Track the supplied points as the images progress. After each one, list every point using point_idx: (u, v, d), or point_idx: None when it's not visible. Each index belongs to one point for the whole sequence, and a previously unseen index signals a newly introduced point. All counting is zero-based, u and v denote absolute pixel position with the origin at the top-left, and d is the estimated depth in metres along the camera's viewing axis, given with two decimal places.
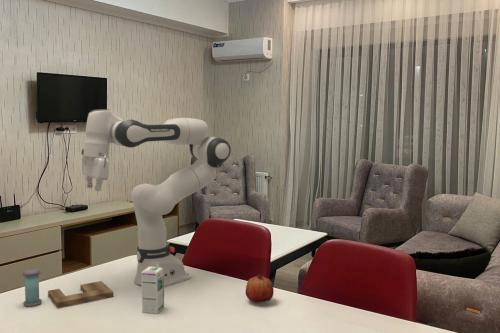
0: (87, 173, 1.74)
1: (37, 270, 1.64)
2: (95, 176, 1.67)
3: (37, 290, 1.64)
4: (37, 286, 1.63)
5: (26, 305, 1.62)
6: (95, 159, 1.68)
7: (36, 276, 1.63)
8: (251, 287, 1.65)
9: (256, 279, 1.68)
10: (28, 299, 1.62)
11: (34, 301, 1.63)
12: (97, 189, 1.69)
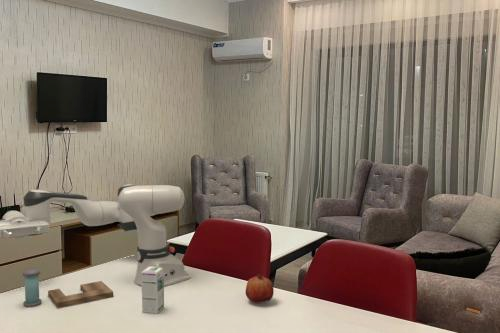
0: (13, 226, 1.76)
1: (37, 270, 1.64)
2: (40, 224, 1.82)
3: (37, 290, 1.64)
4: (37, 286, 1.63)
5: (26, 305, 1.62)
6: (32, 221, 1.86)
7: (36, 276, 1.63)
8: (251, 287, 1.65)
9: (256, 279, 1.68)
10: (28, 299, 1.62)
11: (34, 301, 1.63)
12: None
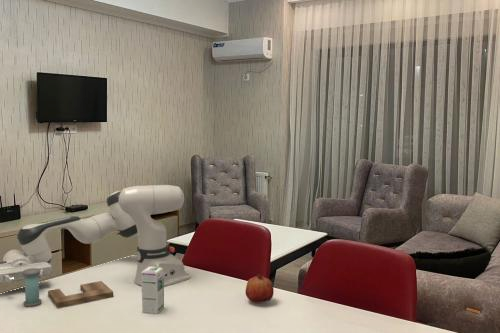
0: (14, 270, 1.73)
1: (37, 270, 1.64)
2: (42, 266, 1.79)
3: (37, 290, 1.64)
4: (37, 286, 1.63)
5: (26, 305, 1.62)
6: (34, 263, 1.83)
7: (36, 276, 1.63)
8: (251, 287, 1.65)
9: (256, 279, 1.68)
10: (28, 299, 1.62)
11: (34, 301, 1.63)
12: (41, 274, 1.74)
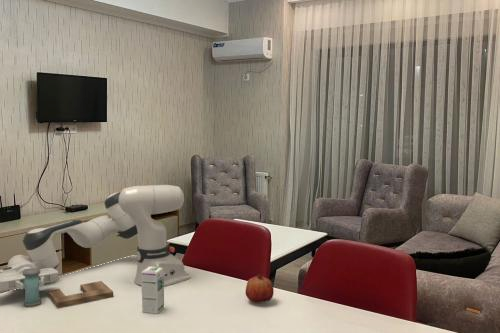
0: (20, 277, 1.66)
1: (37, 270, 1.64)
2: (49, 272, 1.71)
3: (37, 290, 1.64)
4: (37, 286, 1.63)
5: (26, 305, 1.62)
6: (40, 269, 1.75)
7: (36, 276, 1.63)
8: (251, 287, 1.65)
9: (256, 279, 1.68)
10: (28, 299, 1.62)
11: (34, 301, 1.63)
12: (43, 282, 1.66)
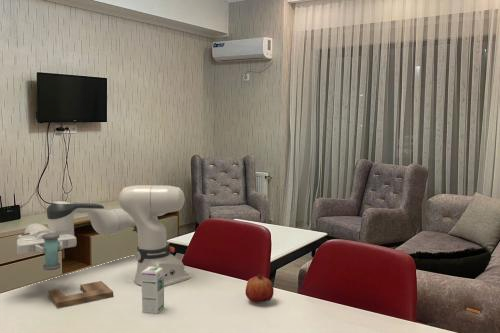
0: (39, 241, 1.69)
1: (56, 234, 1.67)
2: (67, 238, 1.74)
3: (56, 254, 1.67)
4: (56, 250, 1.67)
5: (46, 268, 1.65)
6: None
7: (55, 240, 1.66)
8: (251, 287, 1.65)
9: (256, 279, 1.68)
10: (48, 262, 1.65)
11: (54, 264, 1.66)
12: None
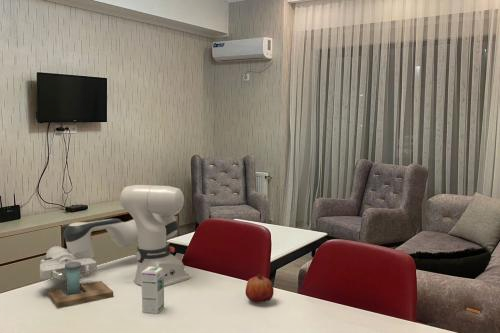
0: (61, 266, 1.74)
1: (78, 263, 1.72)
2: (87, 262, 1.79)
3: (78, 282, 1.72)
4: (78, 279, 1.72)
5: None
6: (78, 259, 1.83)
7: (77, 269, 1.71)
8: (251, 287, 1.65)
9: (256, 279, 1.68)
10: (70, 291, 1.70)
11: (75, 293, 1.71)
12: None
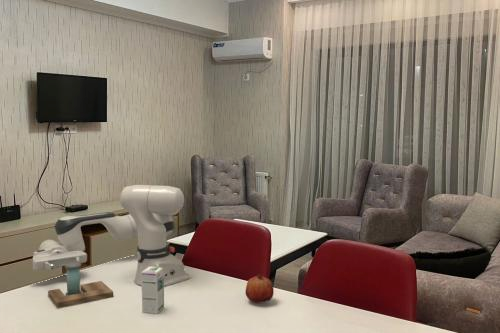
0: (53, 258, 1.84)
1: (78, 263, 1.72)
2: (78, 254, 1.90)
3: (78, 282, 1.72)
4: (78, 279, 1.72)
5: None
6: (70, 251, 1.93)
7: (77, 269, 1.71)
8: (251, 287, 1.65)
9: (256, 279, 1.68)
10: (70, 291, 1.70)
11: (75, 293, 1.71)
12: None
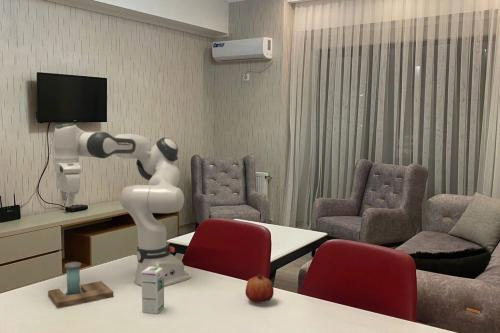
0: None
1: (78, 263, 1.72)
2: None
3: (78, 282, 1.72)
4: (78, 279, 1.72)
5: None
6: None
7: (77, 269, 1.71)
8: (251, 287, 1.65)
9: (256, 279, 1.68)
10: (70, 291, 1.70)
11: (75, 293, 1.71)
12: None
